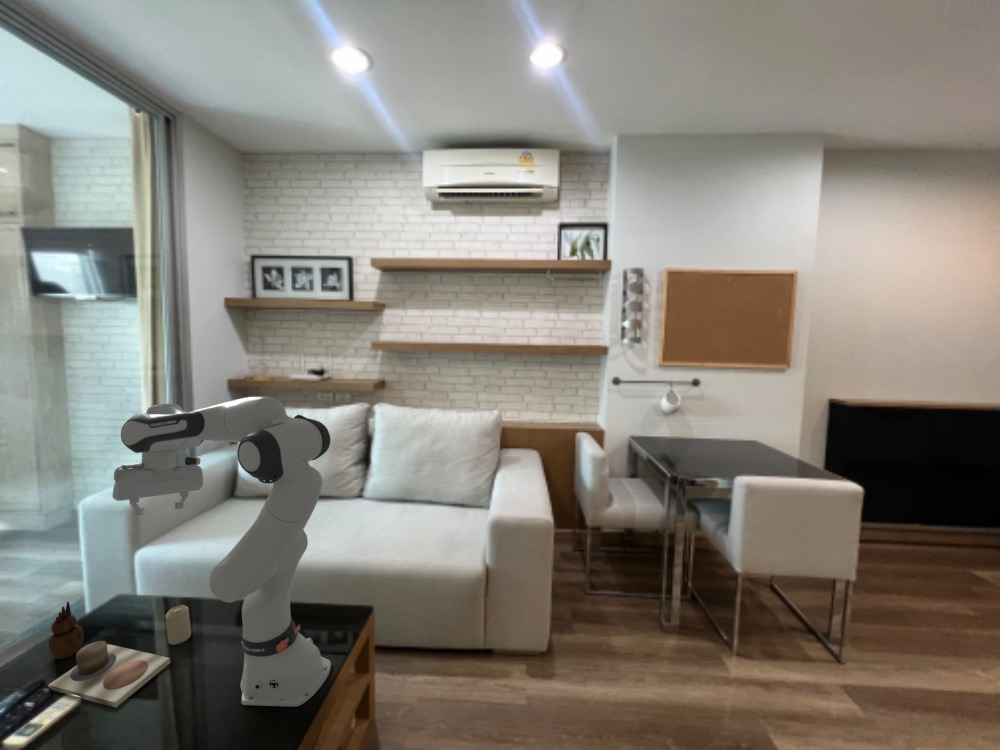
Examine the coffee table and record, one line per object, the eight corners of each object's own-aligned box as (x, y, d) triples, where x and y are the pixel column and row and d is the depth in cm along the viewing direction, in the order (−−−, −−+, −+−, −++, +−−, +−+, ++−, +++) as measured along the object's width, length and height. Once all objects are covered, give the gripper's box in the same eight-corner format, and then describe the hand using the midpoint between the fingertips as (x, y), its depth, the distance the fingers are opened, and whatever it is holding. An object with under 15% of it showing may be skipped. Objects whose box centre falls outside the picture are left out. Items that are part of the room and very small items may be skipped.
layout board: (170, 662, 119) (168, 641, 118) (115, 707, 105) (112, 683, 104) (108, 648, 124) (105, 627, 123) (48, 690, 110) (45, 666, 109)
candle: (188, 628, 132) (184, 598, 130) (193, 637, 128) (190, 606, 127) (166, 638, 128) (162, 608, 126) (171, 648, 124) (167, 616, 123)
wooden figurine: (77, 642, 126) (70, 596, 124) (89, 648, 124) (82, 601, 122) (47, 659, 120) (39, 610, 117) (58, 666, 118) (50, 616, 115)
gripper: (119, 465, 111) (116, 520, 109) (206, 458, 128) (205, 505, 126) (109, 465, 114) (106, 518, 112) (196, 458, 131) (194, 504, 130)
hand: (159, 511), depth 119 cm, fingers open, 8 cm apart
